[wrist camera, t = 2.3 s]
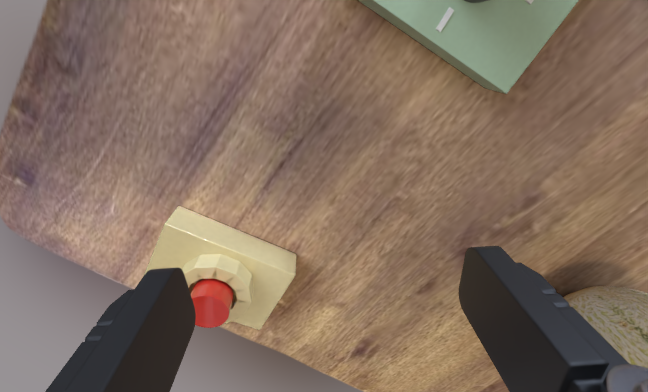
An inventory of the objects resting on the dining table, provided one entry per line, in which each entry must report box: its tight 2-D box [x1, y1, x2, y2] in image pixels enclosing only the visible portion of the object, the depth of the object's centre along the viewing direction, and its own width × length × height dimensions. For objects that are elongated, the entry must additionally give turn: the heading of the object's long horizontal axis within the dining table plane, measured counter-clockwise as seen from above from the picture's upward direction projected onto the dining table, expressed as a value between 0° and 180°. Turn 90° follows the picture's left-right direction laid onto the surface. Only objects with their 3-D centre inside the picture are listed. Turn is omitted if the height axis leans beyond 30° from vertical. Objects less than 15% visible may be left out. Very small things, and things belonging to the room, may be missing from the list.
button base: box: [144, 206, 296, 330], centre depth 29 cm, size 12×8×5 cm, turn 61°
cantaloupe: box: [563, 286, 648, 368], centre depth 30 cm, size 15×15×15 cm
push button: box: [190, 278, 234, 328], centre depth 26 cm, size 4×4×2 cm
